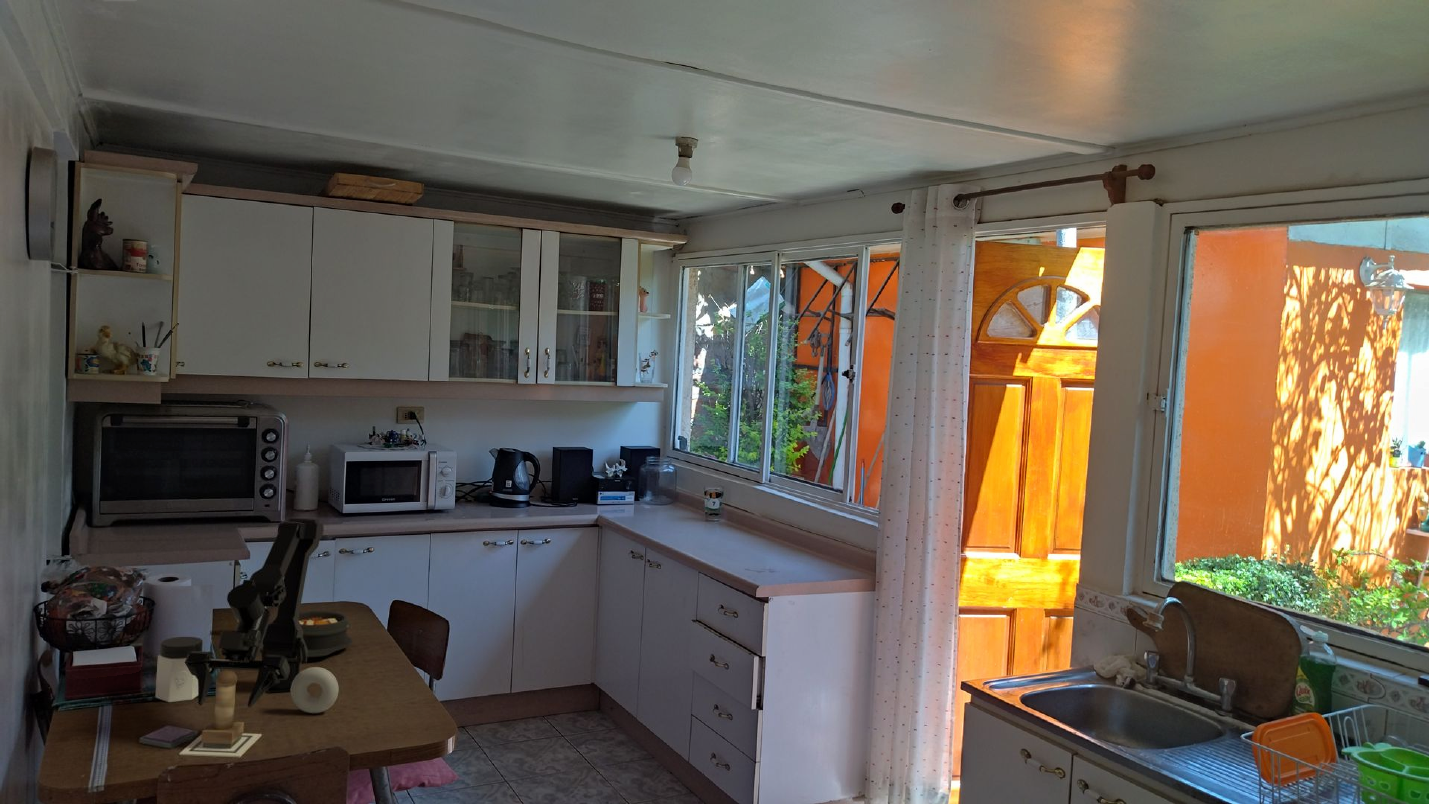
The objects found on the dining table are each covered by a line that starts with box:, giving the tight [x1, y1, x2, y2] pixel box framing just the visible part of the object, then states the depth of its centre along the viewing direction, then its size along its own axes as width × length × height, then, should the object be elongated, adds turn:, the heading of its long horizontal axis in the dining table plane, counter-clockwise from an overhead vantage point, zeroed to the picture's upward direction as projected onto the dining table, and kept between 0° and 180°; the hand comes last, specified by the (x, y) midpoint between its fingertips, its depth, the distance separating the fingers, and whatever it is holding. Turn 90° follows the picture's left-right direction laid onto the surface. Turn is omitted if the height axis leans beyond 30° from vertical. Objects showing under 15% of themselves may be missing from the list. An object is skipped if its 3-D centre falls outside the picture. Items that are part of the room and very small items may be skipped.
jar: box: [154, 636, 204, 703], centre depth 214 cm, size 9×8×12 cm
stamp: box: [201, 669, 245, 749], centre depth 190 cm, size 6×6×14 cm
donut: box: [289, 666, 340, 714], centre depth 210 cm, size 10×4×10 cm, turn 94°
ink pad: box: [139, 725, 199, 749], centre depth 191 cm, size 7×7×1 cm
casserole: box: [298, 610, 353, 658], centre depth 254 cm, size 25×19×8 cm
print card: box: [178, 732, 262, 758], centre depth 190 cm, size 11×11×1 cm
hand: (224, 705), depth 190 cm, fingers open, 9 cm apart
